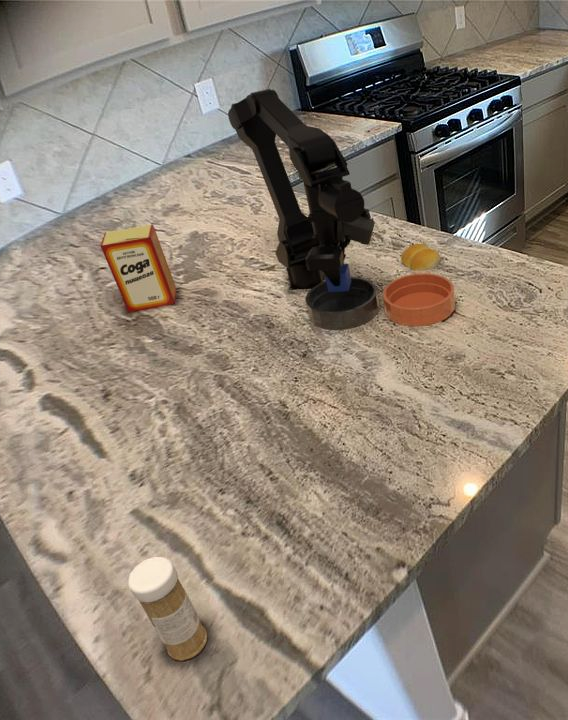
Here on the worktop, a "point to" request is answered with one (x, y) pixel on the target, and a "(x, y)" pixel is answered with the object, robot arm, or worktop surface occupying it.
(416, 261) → the bread roll
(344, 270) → the blue block
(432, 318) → the terracotta bowl
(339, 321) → the charcoal bowl
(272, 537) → the worktop surface
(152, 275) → the baking soda box
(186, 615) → the sprinkles bottle
